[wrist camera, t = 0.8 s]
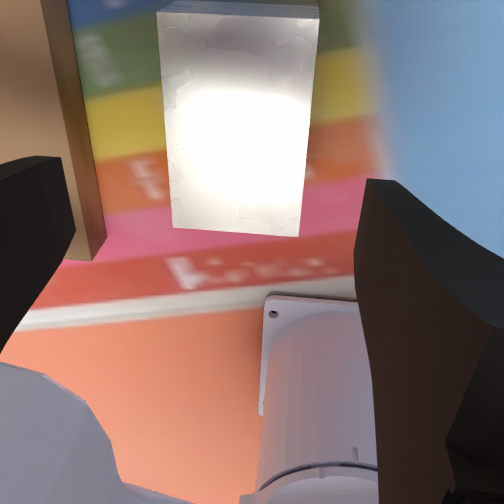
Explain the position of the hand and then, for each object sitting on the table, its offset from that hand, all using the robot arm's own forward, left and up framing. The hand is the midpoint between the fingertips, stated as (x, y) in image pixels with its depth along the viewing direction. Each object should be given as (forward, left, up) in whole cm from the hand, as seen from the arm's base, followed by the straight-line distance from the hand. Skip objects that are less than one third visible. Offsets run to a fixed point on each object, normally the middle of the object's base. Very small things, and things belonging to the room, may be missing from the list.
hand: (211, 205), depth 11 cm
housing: (0, 0, -10) cm, 10 cm away
